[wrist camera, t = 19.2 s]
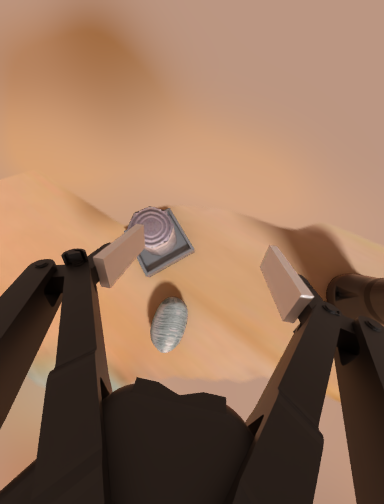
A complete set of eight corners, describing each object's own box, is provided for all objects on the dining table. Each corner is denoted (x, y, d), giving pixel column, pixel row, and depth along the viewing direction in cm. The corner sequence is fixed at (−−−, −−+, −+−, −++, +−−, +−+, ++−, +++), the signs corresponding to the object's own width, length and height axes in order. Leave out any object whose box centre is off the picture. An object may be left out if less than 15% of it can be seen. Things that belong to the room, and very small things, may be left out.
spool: (159, 288, 44) (165, 305, 34) (188, 295, 47) (200, 312, 38) (142, 330, 44) (143, 358, 35) (172, 335, 47) (180, 361, 38)
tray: (194, 252, 49) (194, 249, 46) (149, 277, 48) (146, 276, 44) (171, 212, 53) (169, 207, 49) (128, 235, 51) (123, 231, 48)
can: (149, 222, 52) (135, 202, 40) (181, 227, 51) (176, 209, 39) (139, 253, 49) (122, 242, 37) (173, 260, 48) (166, 251, 36)
